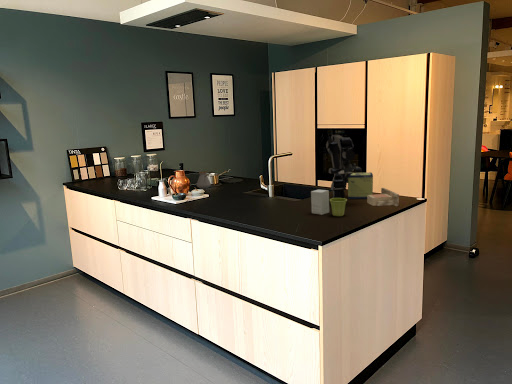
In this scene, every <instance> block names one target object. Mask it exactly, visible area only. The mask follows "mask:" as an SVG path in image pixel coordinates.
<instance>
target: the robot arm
mask: <svg viewBox="0 0 512 384" xmlns="http://www.w3.org/2000/svg"><path fill="white" fill-rule="evenodd" d="M325 147H326V149H327V153H328V154H329V155H330V159H331V163H332V167H330V168H329V169H328V173H329V174H330V175H333V178H332V180H331V184H330V190H331V191H332V198H344V199H346V198H345V197H346V196H345V195H346V194H345V191H346V190H347V186H348V177H349V176H350V174H352V173H354V172H355V173H363V172H362V171H363V170H362V168H361V167H360V166H357V164H356V163H351V161H353V160H354V159H355V158H356V153H355V152H354V147H355V146H354V142H353V139H351V137H349V136H348V137H346V136H345V137H344V136H343V135H340V134H332V135H331V136H330V138H328V139H327V141H326V144H325Z"/></svg>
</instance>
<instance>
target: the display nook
mask: <svg viewBox="0 0 512 384" xmlns="http://www.w3.org/2000/svg"><path fill="white" fill-rule="evenodd" d="M380 190H381V191H380V194H388V195H390V196H392V201H378V202H377V206H376V207H383V206H385V207H386V206H395V207H399V203H400V201H399V199H400V193H398V192H395V191H393V190H389V189H387V188H385V187H381V188H380Z"/></svg>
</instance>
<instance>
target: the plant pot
mask: <svg viewBox="0 0 512 384" xmlns="http://www.w3.org/2000/svg"><path fill="white" fill-rule="evenodd" d="M347 201H348V198H333V197H332V198H329V204H330V205H331V206H330V207H331V212H332V216H334V217H343V216H344V215H345V209H346V204H347Z"/></svg>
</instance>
